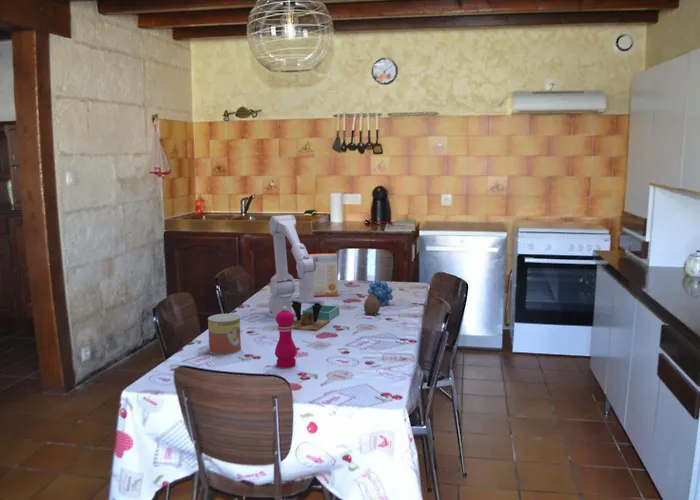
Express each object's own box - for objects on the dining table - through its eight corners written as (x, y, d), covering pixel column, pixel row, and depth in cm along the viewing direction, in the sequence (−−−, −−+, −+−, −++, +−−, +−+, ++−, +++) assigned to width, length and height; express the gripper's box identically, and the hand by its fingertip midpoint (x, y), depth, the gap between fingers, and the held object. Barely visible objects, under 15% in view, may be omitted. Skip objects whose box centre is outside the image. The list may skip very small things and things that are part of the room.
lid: (284, 328, 245) (283, 316, 244) (298, 319, 258) (298, 308, 257) (316, 331, 240) (316, 319, 239) (329, 322, 253) (329, 311, 252)
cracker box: (337, 293, 309) (337, 252, 306) (338, 296, 303) (337, 254, 300) (309, 294, 308) (308, 253, 305) (309, 297, 302) (308, 255, 299)
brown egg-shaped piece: (378, 316, 264) (378, 296, 263) (362, 315, 265) (362, 296, 264) (380, 312, 271) (380, 293, 269) (365, 312, 272) (365, 292, 271)
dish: (302, 319, 259) (302, 310, 259) (313, 313, 271) (313, 304, 270) (329, 322, 255) (329, 312, 255) (339, 315, 267) (339, 306, 266)
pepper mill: (275, 361, 206) (274, 303, 203) (297, 360, 207) (295, 303, 204) (274, 369, 199) (273, 309, 196) (297, 368, 200) (295, 308, 197)
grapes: (367, 307, 280) (367, 281, 278) (368, 303, 287) (367, 278, 285) (392, 307, 279) (392, 281, 278) (392, 304, 286) (392, 278, 284)
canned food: (225, 356, 212) (224, 323, 210) (202, 351, 218) (200, 318, 216) (247, 348, 222) (246, 315, 220) (224, 343, 228) (223, 312, 226)
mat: (280, 330, 244) (280, 328, 244) (297, 320, 259) (297, 319, 259) (317, 333, 239) (317, 332, 239) (332, 323, 254) (332, 322, 254)
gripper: (285, 289, 245) (286, 321, 247) (319, 291, 241) (319, 324, 243) (293, 285, 252) (294, 317, 254) (326, 287, 247) (326, 320, 249)
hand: (307, 320), depth 249 cm, fingers open, 7 cm apart
